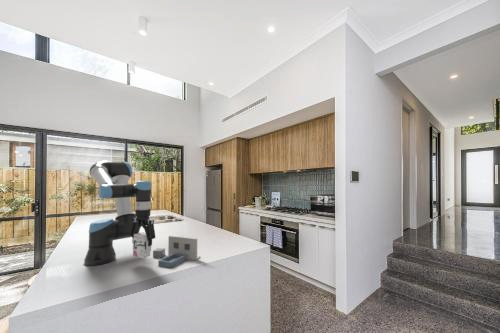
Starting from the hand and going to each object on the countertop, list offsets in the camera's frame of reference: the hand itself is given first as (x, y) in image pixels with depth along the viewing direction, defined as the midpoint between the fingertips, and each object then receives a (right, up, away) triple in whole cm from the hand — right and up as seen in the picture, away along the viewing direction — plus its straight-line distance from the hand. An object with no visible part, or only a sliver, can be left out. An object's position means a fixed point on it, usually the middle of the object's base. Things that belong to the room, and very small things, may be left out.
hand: (141, 250), depth 119 cm
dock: (+15, -8, +4) cm, 18 cm away
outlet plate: (+19, -9, +13) cm, 25 cm away
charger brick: (+3, -9, +15) cm, 18 cm away
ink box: (0, -3, 0) cm, 3 cm away
